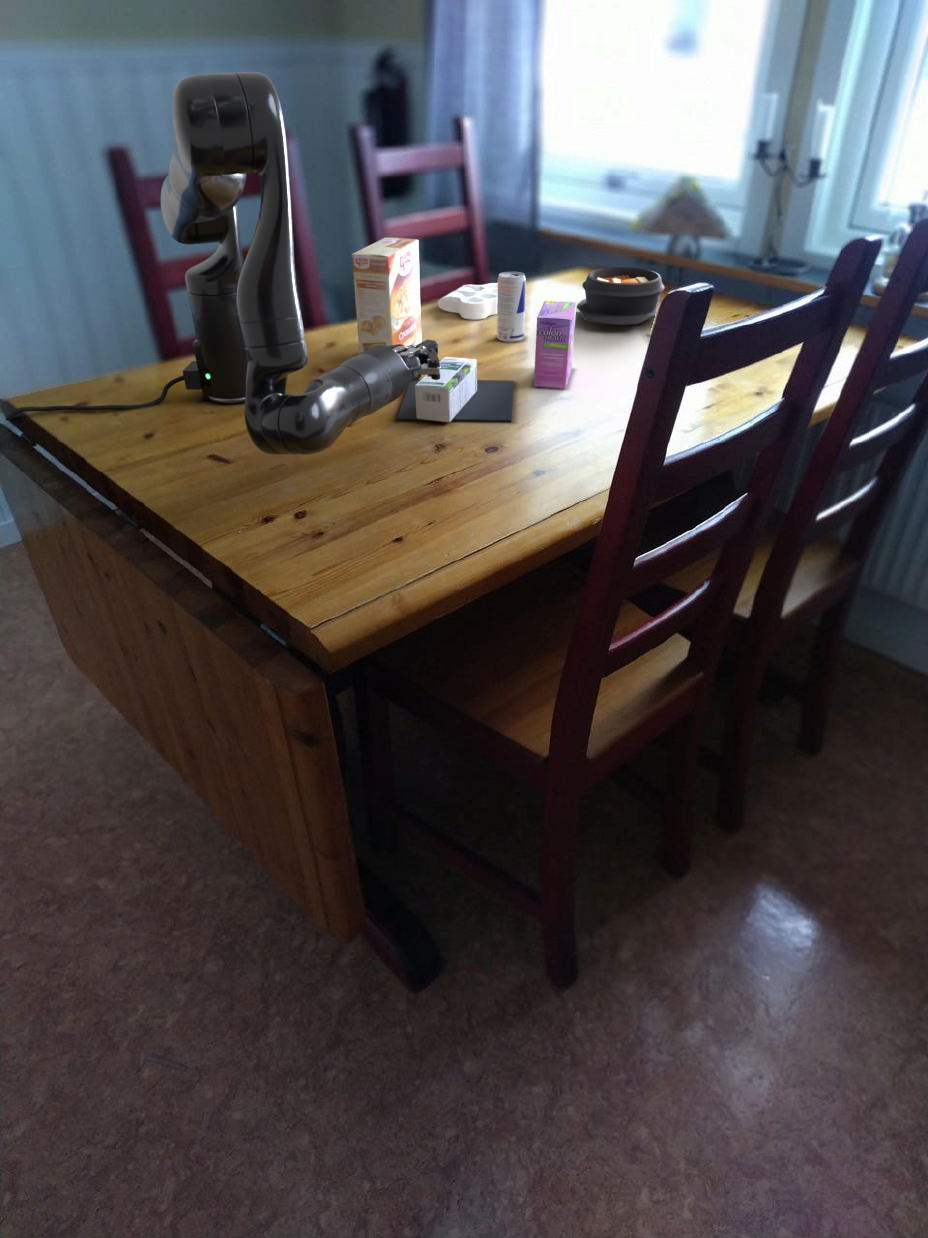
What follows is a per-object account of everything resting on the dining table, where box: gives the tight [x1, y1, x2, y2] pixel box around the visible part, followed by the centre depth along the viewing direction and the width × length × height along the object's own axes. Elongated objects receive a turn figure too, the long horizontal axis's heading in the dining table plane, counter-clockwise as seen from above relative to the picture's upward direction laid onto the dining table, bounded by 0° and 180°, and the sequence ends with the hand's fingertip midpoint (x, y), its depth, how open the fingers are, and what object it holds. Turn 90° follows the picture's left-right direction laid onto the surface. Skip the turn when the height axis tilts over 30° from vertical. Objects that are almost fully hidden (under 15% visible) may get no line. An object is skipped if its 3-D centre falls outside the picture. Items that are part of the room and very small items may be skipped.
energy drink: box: [496, 271, 527, 343], centre depth 165 cm, size 5×5×12 cm
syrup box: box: [415, 356, 478, 423], centre depth 136 cm, size 6×6×14 cm
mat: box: [396, 378, 514, 423], centre depth 140 cm, size 18×18×1 cm
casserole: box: [576, 266, 666, 326], centre depth 177 cm, size 25×19×8 cm
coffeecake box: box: [351, 236, 423, 354], centre depth 154 cm, size 15×7×20 cm, turn 162°
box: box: [533, 300, 578, 390], centre depth 146 cm, size 10×6×12 cm, turn 168°
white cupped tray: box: [437, 282, 498, 321], centre depth 186 cm, size 3×18×15 cm
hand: (432, 346), depth 125 cm, fingers closed
